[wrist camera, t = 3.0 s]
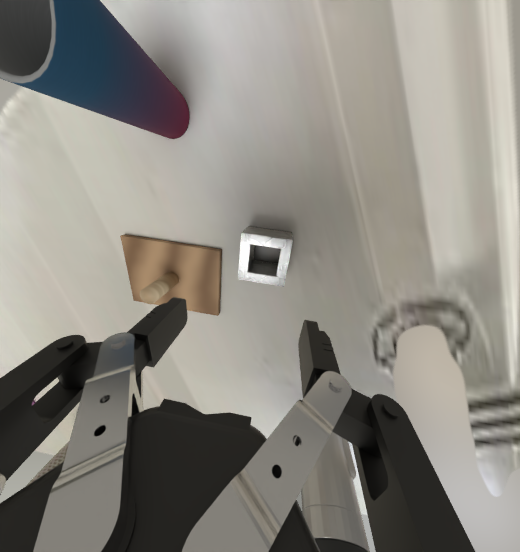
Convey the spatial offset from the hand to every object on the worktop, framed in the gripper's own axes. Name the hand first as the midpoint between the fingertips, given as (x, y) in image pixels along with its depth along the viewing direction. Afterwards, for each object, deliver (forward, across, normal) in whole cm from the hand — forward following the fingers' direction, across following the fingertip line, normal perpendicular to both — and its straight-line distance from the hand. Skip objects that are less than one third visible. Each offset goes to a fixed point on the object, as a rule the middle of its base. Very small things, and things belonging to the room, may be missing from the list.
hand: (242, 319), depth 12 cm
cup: (+17, +14, -15) cm, 27 cm away
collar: (+17, 0, 0) cm, 17 cm away
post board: (+17, +15, +7) cm, 24 cm away
